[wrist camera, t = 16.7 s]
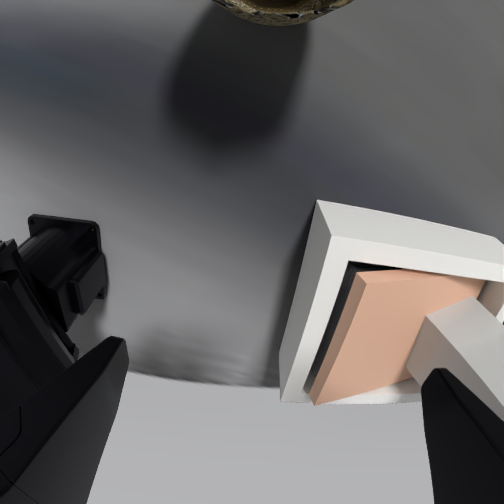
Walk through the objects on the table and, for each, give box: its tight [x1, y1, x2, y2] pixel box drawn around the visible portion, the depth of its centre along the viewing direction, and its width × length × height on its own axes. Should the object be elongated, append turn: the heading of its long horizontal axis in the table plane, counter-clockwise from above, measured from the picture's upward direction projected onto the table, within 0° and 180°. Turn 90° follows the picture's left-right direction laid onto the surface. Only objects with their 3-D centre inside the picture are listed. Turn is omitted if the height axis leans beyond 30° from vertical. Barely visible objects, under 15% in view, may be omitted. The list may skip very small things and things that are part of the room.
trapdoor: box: [309, 260, 486, 405], centre depth 20 cm, size 12×10×4 cm
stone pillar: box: [405, 296, 504, 421], centre depth 14 cm, size 5×5×12 cm
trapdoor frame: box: [279, 200, 504, 404], centre depth 21 cm, size 15×13×5 cm
